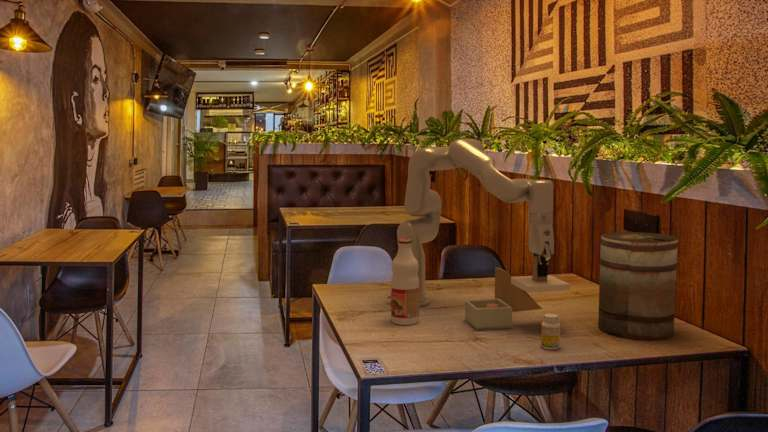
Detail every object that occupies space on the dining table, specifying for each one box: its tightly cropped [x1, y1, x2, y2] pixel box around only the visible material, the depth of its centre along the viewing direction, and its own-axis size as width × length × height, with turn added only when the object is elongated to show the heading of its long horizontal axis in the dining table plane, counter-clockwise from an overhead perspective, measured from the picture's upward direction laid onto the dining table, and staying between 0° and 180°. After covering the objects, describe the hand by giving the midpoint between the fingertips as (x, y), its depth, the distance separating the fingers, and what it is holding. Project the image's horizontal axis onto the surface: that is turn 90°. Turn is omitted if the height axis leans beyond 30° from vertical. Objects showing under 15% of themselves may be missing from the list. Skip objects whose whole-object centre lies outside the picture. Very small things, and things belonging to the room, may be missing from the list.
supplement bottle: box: [540, 313, 561, 351], centre depth 187 cm, size 5×5×10 cm
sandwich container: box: [494, 266, 543, 313], centre depth 232 cm, size 9×15×15 cm, turn 107°
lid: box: [511, 255, 571, 294], centre depth 206 cm, size 14×14×10 cm
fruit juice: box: [390, 239, 420, 326], centre depth 214 cm, size 9×9×28 cm
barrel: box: [597, 231, 679, 342], centre depth 203 cm, size 22×22×30 cm
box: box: [464, 298, 513, 332], centre depth 211 cm, size 12×12×7 cm
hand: (539, 274), depth 206 cm, fingers closed on lid, 3 cm apart
